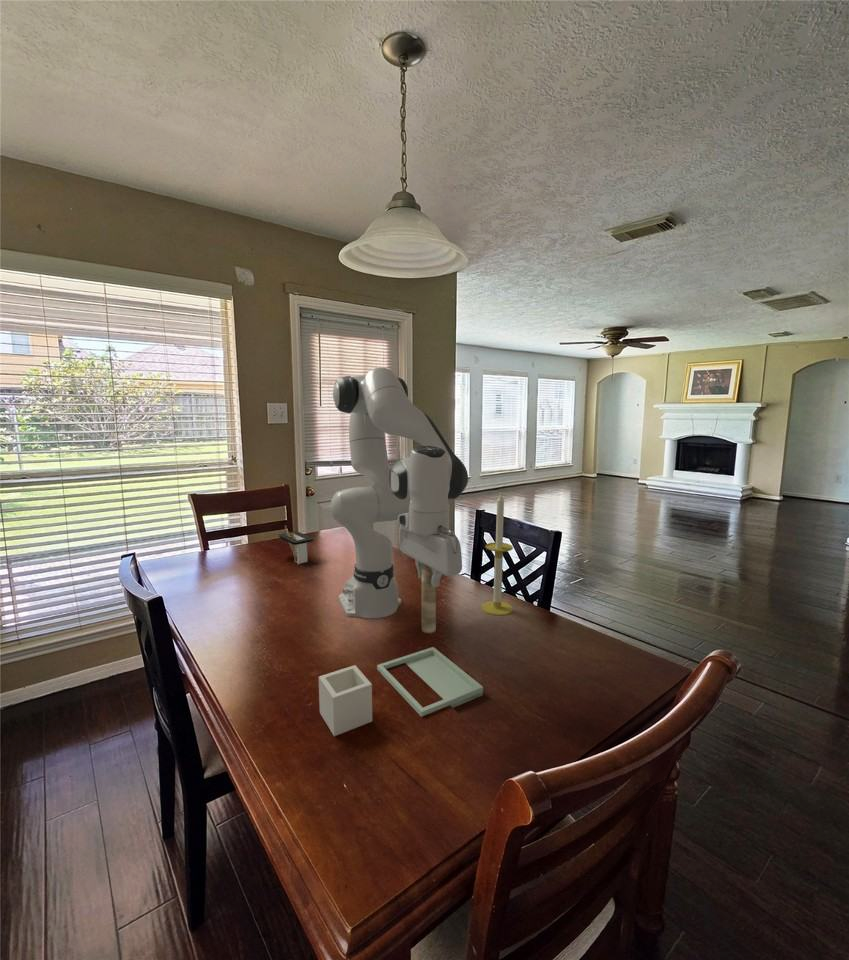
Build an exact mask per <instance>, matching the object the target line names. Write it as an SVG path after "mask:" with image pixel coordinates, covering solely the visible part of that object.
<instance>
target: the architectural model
mask: <svg viewBox="0 0 849 960" xmlns="http://www.w3.org/2000/svg"><path fill="white" fill-rule="evenodd" d="M284 532H285V533H284ZM284 532H283V533H279V534H278V538H280V539H281V540H283V541H284V542H287V543H288V545H289V547H290V549H291V551H292V554H293V559H294V561H293V562H294V563H297V565H300V564H304V563H308V543H311V542H314V539H315V538H314V537H312V536H309V535H307V534H305V533H302V532H300V531H289V530H288V528H287V525H284Z"/></svg>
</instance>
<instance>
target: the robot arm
mask: <svg viewBox="0 0 849 960" xmlns="http://www.w3.org/2000/svg"><path fill="white" fill-rule="evenodd" d="M332 399H333V402H334V405H335V408H336V409H337V410H338V411H339V412H341V413H345V414H350V415H349V424H348V425H349V427H348V440H349V441H348V442H349V452H350V461H351V462H350V463H351V467H352V468H353V470H354V471H355V473H358V474H359V475H362V476H364V477H367V479H369V481H370V483H371V486H359V487H349V488H346V489H342V490H339V491H336V492H335V493H334V494H333V496H332V498H331V501H330V507H329V508H330V512H331V516H332V518H333V519H334V520H335V521H336V522H337V523H338V524H340V525H341V526H343V527H344V528H345V529H346V530H347V531H348V532H349V534H350V535H351V537H352V539H353V544H354V547H355V548H354V549H355V561H356V562H355V563H354V565H355V566H354V567H353V568H354V569H353V576H351V577H350V578H349V579H348V580H346V581H345V587H343V588H342V592H341V593H340V594H339V595H338V598H337V599H338V600H339V602H340V605H341V608H342V609H343V611H344V613H345V615H346V617H357V618H358V617H359V618H364V619H381V618H385V617H389V616H391V615H393V614H395V613H396V612H397V610H398V608H399V606H400V605H401V604H402V603H403V602H402V599H401V598H400V597H399V592H398V581H397V579H396V578H395V577H394V576H395V575H394V572H395V569H394V564H393V544H392V541H391V539H390V537H389V536H387V535H385V534H384V533H382V532H380V531H377V530H375V529H374V524H375V523H382V522H392V521H397V523H398V524H399V528H398V543H399V544H398V545H399V548H400V552H401V553H403V554H405V555H406V556H408V557H410V558H412V559H413V560H414V564H415V567H416V569H417V575H418V577H417V578H418V579H419V580H420V581H422V569H423V568H427V567H428V568H432V572H433V575H432V577H431V578H429V581H430V582H429V584H430V585H431V586H432V587H436V588H438V587H439V586H440V585H441V583H440V582H441V578H442V576H443V575H444V576H446V577H451V576H456V575H459V574H460V573H461V572H462V570H463V557H462V547H461V543H460V540H459V538H458V537H457V535H456V534H455V531H454V530H452V529H450V504H449V500H455V499H457V498H459V497H460V496H461V494H462V493H464V491H465V489H466V488H467V486H468V483H469V474H468V470H467V468H466V466H465V464H464V463H463V462H462V460H461V459H460V458H459V457H458V456H457V455H456V454H455V452H453V450H452V449H451V447H450V446H449V444H448V443H447V442H446V440H445V438H444V437H443V435H442V433H441V432H440V430H439V429H438V427H437V426H436V425H435V422H434V421H433V419H431V417H430V416H429V415H428V414H426V413H425V412H423V411H422V410H420V409H419V408H418V407H417V406H415V404H414V403H413V402H412V401H411V400H410V399H409V389H408V385H407V383H406V381H405V380H404V379H403V378H400V377H398V376H397V375H396V374H395V372H393V371H392V370H391V369H389V368H386V367H382V366H381V367H376V368H373V369H371V370H370V371H368V372H367V374H366V375H354V376H351V375H344V376H341V377H339V378H338V379H337V380H336V381H335V382H334V385H333V388H332ZM386 434H388V435H391V436H396V437H402V438H405V439H409V440H412V441H414V442H417V443H418V444H420V445H418V446H414V447H413V448H411V451H410V455H409V456H408V457H405V458H403V459H400V460H397V461H396V462H395V463H394V464H393V465H392V466H390V462H389V458H388V450H387V440H386ZM426 566H427V567H426Z"/></svg>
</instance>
